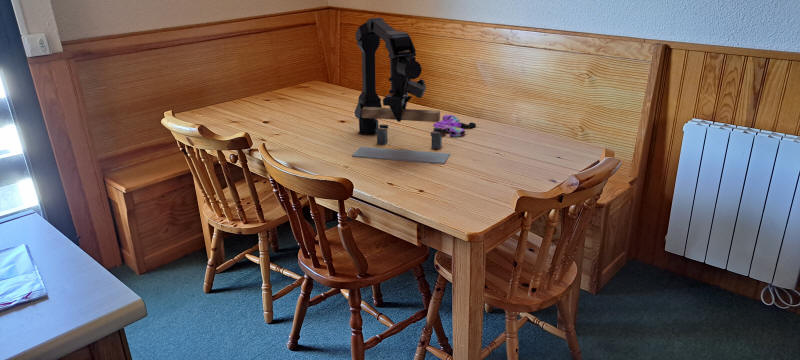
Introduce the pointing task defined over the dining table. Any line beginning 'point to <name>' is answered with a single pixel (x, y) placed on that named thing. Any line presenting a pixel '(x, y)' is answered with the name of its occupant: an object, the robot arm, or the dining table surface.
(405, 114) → the rail
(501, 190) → the dining table surface
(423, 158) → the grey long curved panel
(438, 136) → the grey block
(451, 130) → the decorative sculpture
